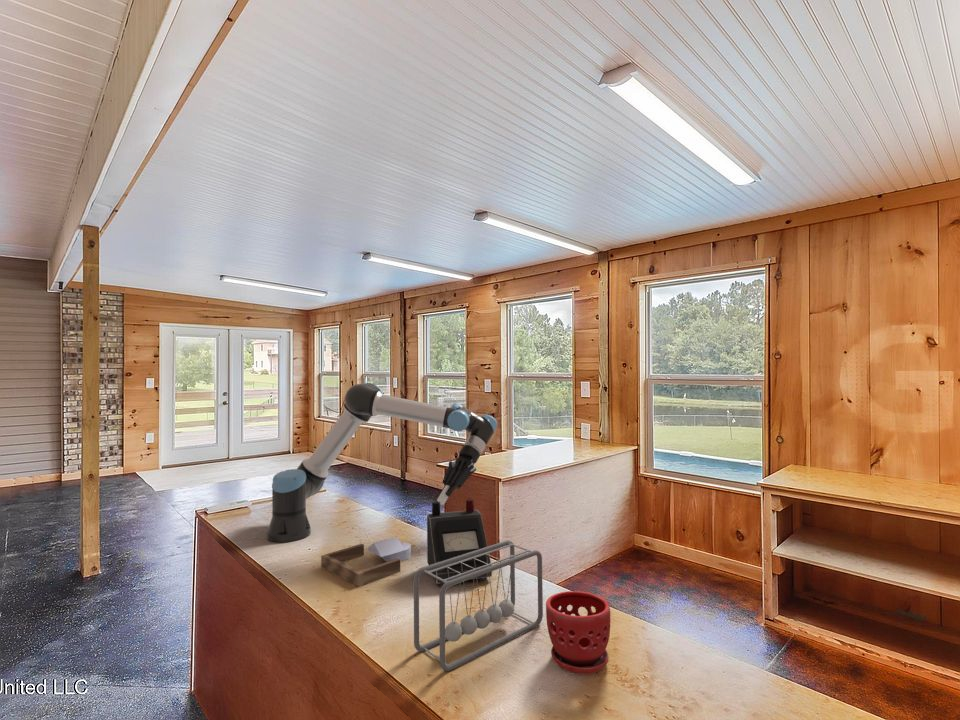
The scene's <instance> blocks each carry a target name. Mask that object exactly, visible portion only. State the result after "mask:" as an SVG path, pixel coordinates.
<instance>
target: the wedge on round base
mask: <svg viewBox="0 0 960 720" xmlns="http://www.w3.org/2000/svg"><path fill="white" fill-rule="evenodd" d="M411 549H412V546H411V543H408V542H404V541H400V539H399V538H398V536H394V537H389V538H385V539H382V540H379V541H374V542H373V543H371V545H370V546H369V547H368V548H366V550H367V551H368V552H370V553H373V554H374V555H377V556H378V557H380V558H382V560H383V561H385V562H388V561H391V560H394V559H397V558H398V559H400V561H402V562H404V560H405V561H408V560H410V559H411V557H412V552H411ZM410 556H411V557H410ZM407 559H408V560H407Z"/></svg>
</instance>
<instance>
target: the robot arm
mask: <svg viewBox="0 0 960 720" xmlns="http://www.w3.org/2000/svg"><path fill="white" fill-rule="evenodd" d="M378 415H379V416H384V417H391V418H395V419H399V420H406V421H411V422H415V423H421V424H427V425H430V426H435V427H436V426H437V427H442V428H445V429H450V430H452V431H454V432H462V431H466V432H468V433H470V434H469V435H468V437H467V439H466V441H464V444H463V445H462V447H461V448H460V450H459V452H458V457H457V458H456V459H455V460H454V461H451V460H450V461H449V462H448V466H447V469H446V472H445V474H444V477H443V479H442V484H443V488H442V489H441V491H440V494H439V496H438V498H437V499H436V502H437V501H438V502H440V506H444V505H445V503H446V502H447V500H448V499H449V497H451V495H452V493H453V492H454V491H455V490H456V489H457V490H459V489H460V488H461V487H462V486H463V485H464V484H465V483H466V482H467V480H468V479H469V478H470V477H471V476H472V474H473V473H475V472H476V471H477V468H476V467H475V464H476V463H477V462H478V460H479V458H480V457H481V456H480V455H482V453H483V452H484V450H485V448H486V446H487V445H488V443H489V441H490V440H491V439H492V437H493V435H494V433H495V431H496V429H497V427H498V421H497V419H496V418H495V417H493V416H492V415H489V414H487V413H486V414H485V413H484V414H482V415H481V416H480V415H477V414H476V413H475V412H473V411H472V410H470V409H468V408H467V407H466V406H464V405H462V404H460V403H458V402H454V403H453V405H452V406H451V407H447V406H442V405H437V404H432V403H427V402H422V401H416V400H414V399H413V400H412V399H407V398H401V397H397V396H392V395H387V394H384V392H383V390H382V388H381V387H380V386H378V385H377V384H374V383H372V382H366V383H359V384H354V385H352V386H351V387H349V388H348V389H347V391H346V393H345V395H344V404H343V412H341V414H340V416H339V418H338V419H337V420H336V422H335V423H334V424H333V425H332V426H331V428H330V430H329V431H328V432H327V433H326V435H325V437H324V438H323V439H322V441H321V442H320V443H319V444H318V446H317V448H316V449H315V450H314V451H313V453H312V454H311V456H310V457H309V458H304V459H303V460H302V461H301V462H300V464H299V465H298V467H297V468H295V469H294V468H293V469H286V470H282V471H279V472H277V473H276V474H274V475H273V478H272V483H271V491H272V492H271V493H272V494H271V495H272V496H271V497H272V498H271V499H272V501H271V502H272V503H271V504H272V505H271V506H272V514H271V515H272V517H271V519H270V523H269V526H268V527H267V528H268V529H267V532H266V538H267V540H268V541H270V542H273V543H274V542H275V543H287V542H288V543H289V542H295V541H299V540H303V539H305V538H307V537H309V536H310V535H311V531H312V530H311V524H310V522H309V519H308V516H307V512H306V511H307V509H306V508H307V505H306V504H307V499H309V498H311V497H312V496H315V495H316V494H318V493H319V492H320V491H321V489H322V488H323V487H324V484H325V480H326V479H327V478H328V477H329V471H328V470H329V469H330V467H331V466H332V464H333V463H334V462H335V461H336V459H337V458H338V456H339V455H340V454H341V452H342V451H343V449H344V448H345V447H346V445H347V444H348V443H349V441H350V440H351V439H352V438H353V436H354V434H355V433H356V432H357V431H358V429H359V428H360V427H361V425H362V424H363V423H368V422H369V421H370V419H371V418H372V417H377V416H378Z"/></svg>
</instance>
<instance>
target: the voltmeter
mask: <svg viewBox="0 0 960 720" xmlns="http://www.w3.org/2000/svg"><path fill="white" fill-rule="evenodd" d="M474 500H475V499H474V498H467V499H466V500H465V501H466V503H465V504H466V505H465V510H461V511H460V510H459V511H448V512H446V511H445V512H441V504H440V502H438V501H437V500H436V501H432V503H431V513H427V514H426V542H427V543H426V550H427V551H426V556H427V557H426V558H427V559H426V561H427V562H426V563H427V564H428V565H431V564H435V563H438V562H441V561H444V560H447V559H450V558H453V557H457V556H460V555H463V554H466V553H469V552H472V551H475V550H479V549H482V548H485V547H488V546H489V545H488V542H487V538H486V537H487V536H486V531H485V528H484V522H483V517H482V513H481V512H480V511H479V510H478V509H475V501H474ZM488 552H489V551H488ZM485 553H486V552H485ZM482 554H483V553H482ZM479 555H480V554H479ZM489 555H490V553H489V554H488V555H483V556H480V557H477V558H475V563H474V559H471V560H468V561H465V562H462V568H461V563H459V564H455V565H452V566H449V568H448V569H447V567H446V568H443V569H440V570H437V571H434V572H431V573H432V574H434V575H436V576H438V577H439V578H441V579H443V580H444V579H447V578H448V572H449V578H450V577H453V576H456V575H458V574H460V573H462V570H463V573H464V572H467V571H470V570H473V569H474V568H475V566H476V568H478V567H481V566H484V565H487V564H490V563H492V562H491V561H492V560H491V555H490V556H489ZM476 556H477V555H476ZM473 557H474V556H473ZM470 558H471V557H470ZM487 558H488V563H487ZM467 559H468V558H467ZM476 559H478V560H476ZM464 560H465V559H464ZM479 560H480V561H479ZM461 561H462V560H461ZM481 561H482V562H481ZM458 562H459V561H458ZM483 562H484V563H483ZM455 563H456V562H455ZM463 563H464V564H463ZM486 563H487V564H486ZM452 564H453V563H452ZM465 564H466V565H465ZM428 565H427V566H428ZM467 565H468V566H467ZM469 566H470V567H469ZM490 566H492V565H490ZM471 567H472V568H471ZM487 567H488V566H487ZM450 568H451V569H450ZM484 568H486V567H484ZM452 569H453V570H452ZM481 569H483V568H481ZM454 570H455V571H454ZM479 570H480V569H479ZM456 571H457V572H456ZM476 571H478V570H476ZM458 572H459V573H458ZM473 572H475V571H473ZM470 573H472V572H470ZM467 574H469V573H467ZM489 574H490V578H491V577H493V571H491V572H489V573H488V575H487V573H486V574H483V575H480V576H478V577H477V579H479V581H480V580H482V581H481V582H484V581H483V580H485V581H486V577H487V578H489ZM464 575H466V574H464ZM459 577H461V576H459ZM433 578H434V581H435V583H436V584H439V586H441V587H442V586H443V584H444V582H443V581H441V580H439V579H437V578H435V577H433ZM456 578H458V577H456ZM453 579H455V578H453ZM477 579H476V577H475V579H474V578H472V579H471V580H477ZM450 580H452V579H450ZM448 581H449V580H448Z"/></svg>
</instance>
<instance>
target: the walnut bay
mask: <svg viewBox="0 0 960 720" xmlns="http://www.w3.org/2000/svg"><path fill="white" fill-rule="evenodd" d="M363 556H365V545H364V544H363V543H359V544H356V545H352V546H348V547H345V548H342V549H340V550H336V551H333V552H329V553H326V554H323V555H321V556H320V559H321V560H320V565H321V566H320V567H321V568H322V569H324V570H326V571H328V572H330V573H331V574H334V575H336V576H338V577H340V578H341V579H343V580H346V581H347V582H349V583H350V584H352V585H355V586H357V587H362V586H365V585H368V584H369V583H373V582H375V581H378V580H381V579H384V578H386V577H389V576H391V575H394V574H397V573H399V572H401V562H400V559H398V558H397V559H394V560H391V561H385V562H383V563H380V564H378V565H375V566H372V567H369V568H366V569H365V568H364V569H363V570H360V569H357V568H355V567H353V566H351V565H348V564H347V563H344V562H348V561H351V560H354V559H357V558H360V557H363Z"/></svg>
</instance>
